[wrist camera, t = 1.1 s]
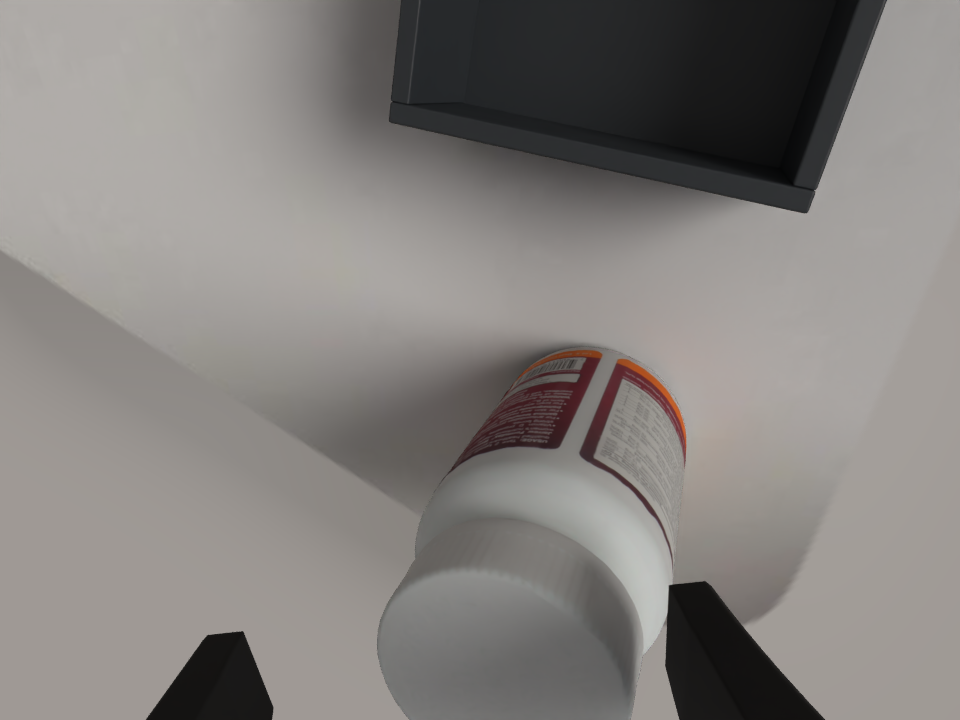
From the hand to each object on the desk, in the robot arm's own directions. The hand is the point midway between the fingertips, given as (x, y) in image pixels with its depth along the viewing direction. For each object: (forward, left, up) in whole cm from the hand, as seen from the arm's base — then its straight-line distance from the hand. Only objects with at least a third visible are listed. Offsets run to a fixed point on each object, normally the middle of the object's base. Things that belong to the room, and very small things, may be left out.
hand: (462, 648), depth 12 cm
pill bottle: (-1, +1, -12) cm, 13 cm away
